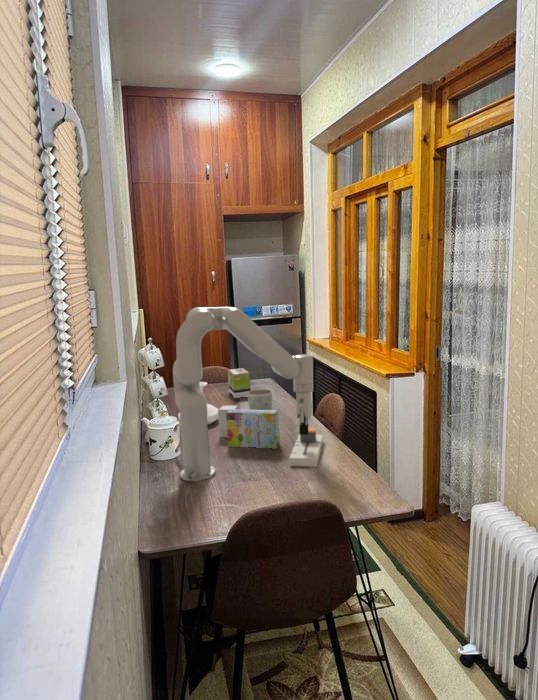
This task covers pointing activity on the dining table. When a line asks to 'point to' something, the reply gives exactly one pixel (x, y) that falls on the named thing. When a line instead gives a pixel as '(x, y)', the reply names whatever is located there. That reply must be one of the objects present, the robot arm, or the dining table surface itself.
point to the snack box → (253, 428)
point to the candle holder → (208, 408)
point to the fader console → (306, 452)
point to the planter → (260, 399)
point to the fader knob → (309, 436)
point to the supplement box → (224, 419)
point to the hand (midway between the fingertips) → (304, 433)
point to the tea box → (239, 382)
